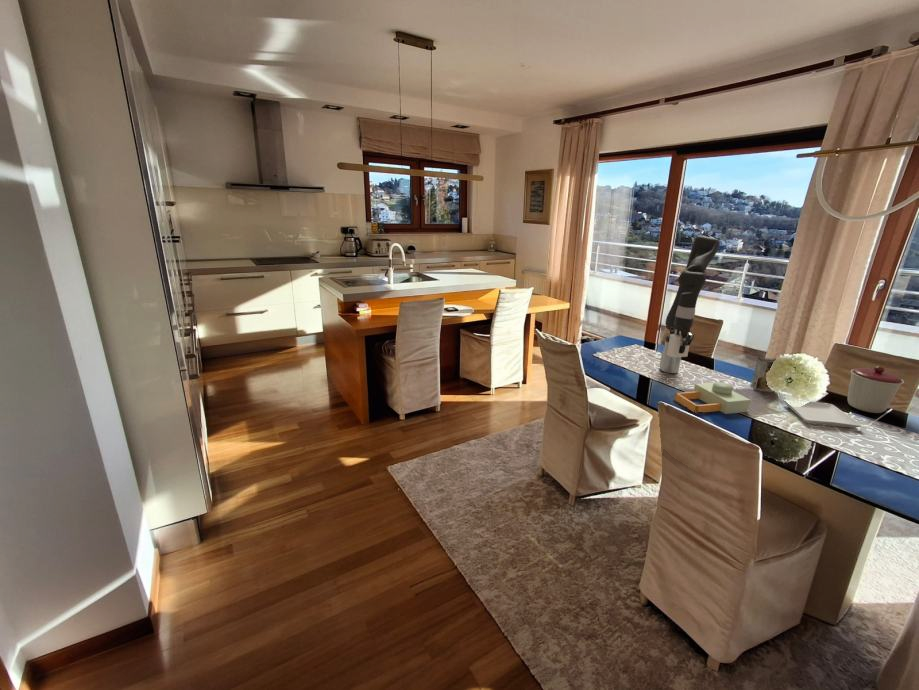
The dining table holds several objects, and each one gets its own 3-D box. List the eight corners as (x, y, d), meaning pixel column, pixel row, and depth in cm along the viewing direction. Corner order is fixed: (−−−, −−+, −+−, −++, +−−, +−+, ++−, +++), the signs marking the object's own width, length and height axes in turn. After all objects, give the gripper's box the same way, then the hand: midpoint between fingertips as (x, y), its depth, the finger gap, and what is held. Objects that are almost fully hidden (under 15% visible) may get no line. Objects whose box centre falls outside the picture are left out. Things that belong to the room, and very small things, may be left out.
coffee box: (770, 387, 221) (778, 358, 216) (775, 392, 215) (783, 362, 210) (750, 385, 223) (757, 356, 218) (754, 390, 217) (762, 360, 212)
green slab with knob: (669, 397, 207) (673, 379, 204) (713, 393, 213) (717, 376, 210) (700, 416, 189) (704, 397, 186) (747, 411, 194) (752, 393, 191)
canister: (886, 406, 203) (902, 365, 197) (895, 421, 189) (913, 377, 182) (837, 396, 213) (851, 356, 206) (842, 409, 199) (857, 367, 192)
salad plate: (860, 432, 180) (863, 425, 178) (803, 426, 183) (806, 419, 182) (829, 409, 199) (832, 403, 198) (779, 404, 203) (781, 398, 202)
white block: (666, 354, 202) (670, 334, 198) (681, 353, 203) (685, 333, 200) (672, 357, 198) (676, 336, 195) (687, 356, 200) (691, 336, 196)
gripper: (667, 312, 200) (660, 347, 206) (688, 320, 187) (681, 357, 193) (681, 312, 202) (674, 346, 207) (703, 319, 189) (695, 356, 194)
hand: (677, 351), depth 200 cm, fingers closed on white block, 4 cm apart
